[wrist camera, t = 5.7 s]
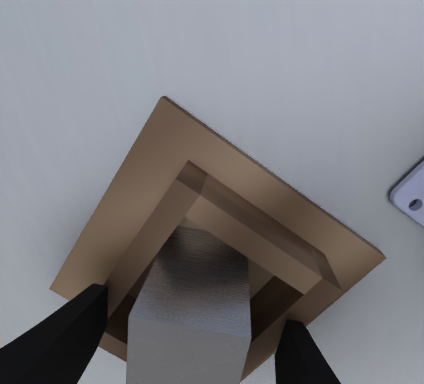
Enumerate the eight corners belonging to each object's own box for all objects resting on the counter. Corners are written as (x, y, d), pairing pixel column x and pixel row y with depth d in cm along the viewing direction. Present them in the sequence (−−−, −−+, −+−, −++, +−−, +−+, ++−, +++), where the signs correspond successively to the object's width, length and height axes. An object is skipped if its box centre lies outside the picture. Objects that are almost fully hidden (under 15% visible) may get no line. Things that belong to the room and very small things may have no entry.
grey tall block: (246, 237, 13) (251, 338, 8) (229, 319, 15) (223, 443, 10) (172, 224, 13) (128, 316, 8) (163, 307, 15) (124, 424, 10)
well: (380, 250, 13) (419, 297, 10) (229, 381, 17) (227, 441, 15) (165, 96, 12) (140, 100, 9) (56, 281, 16) (14, 326, 13)
